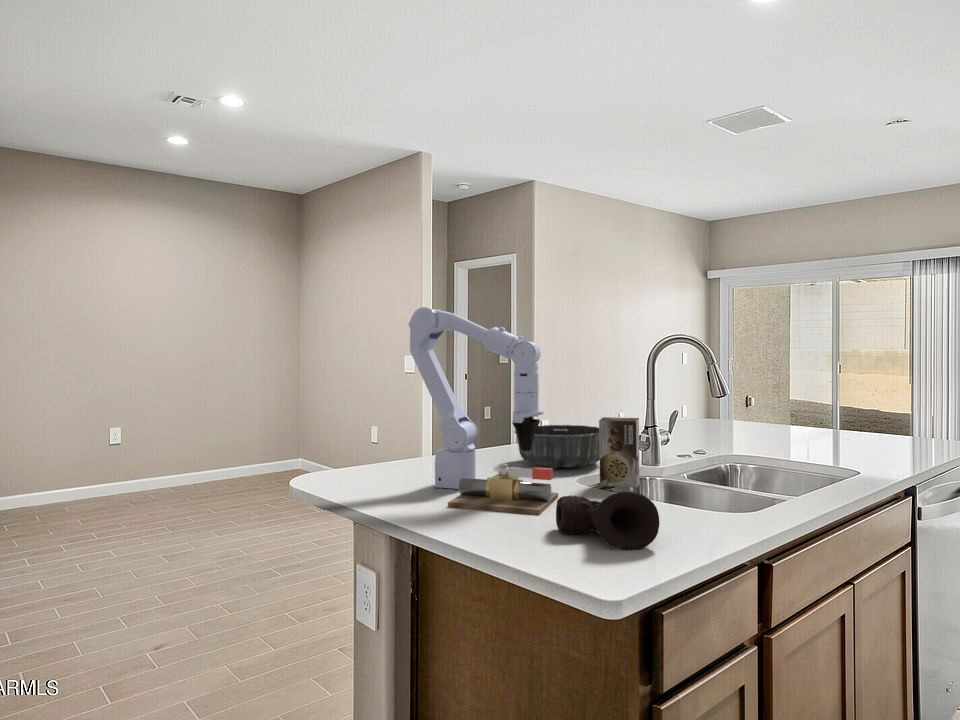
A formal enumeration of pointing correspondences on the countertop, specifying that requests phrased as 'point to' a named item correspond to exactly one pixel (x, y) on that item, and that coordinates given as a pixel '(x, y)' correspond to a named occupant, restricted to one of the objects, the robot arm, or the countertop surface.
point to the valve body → (505, 488)
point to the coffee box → (619, 452)
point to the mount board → (502, 504)
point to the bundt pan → (563, 446)
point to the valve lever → (526, 472)
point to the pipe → (611, 518)
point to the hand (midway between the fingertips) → (526, 450)
